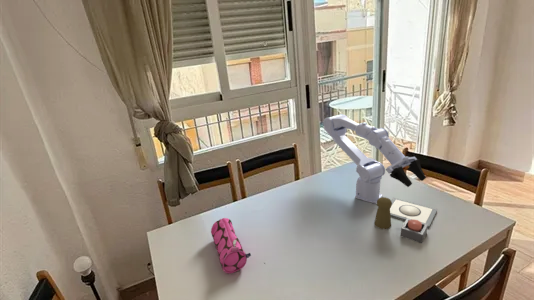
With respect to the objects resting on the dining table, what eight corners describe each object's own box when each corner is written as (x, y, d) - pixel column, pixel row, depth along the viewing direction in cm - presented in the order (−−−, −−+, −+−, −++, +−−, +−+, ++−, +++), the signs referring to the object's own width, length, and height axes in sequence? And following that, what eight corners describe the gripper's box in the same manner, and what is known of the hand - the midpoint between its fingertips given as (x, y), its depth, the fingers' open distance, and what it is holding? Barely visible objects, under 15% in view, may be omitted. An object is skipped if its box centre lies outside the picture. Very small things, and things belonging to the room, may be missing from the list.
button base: (400, 236, 110) (401, 228, 108) (406, 226, 115) (407, 218, 113) (421, 243, 106) (422, 234, 104) (426, 232, 111) (427, 224, 109)
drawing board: (382, 213, 123) (382, 211, 123) (393, 199, 132) (393, 197, 132) (428, 228, 113) (429, 225, 112) (437, 210, 122) (437, 208, 121)
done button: (405, 230, 109) (406, 224, 108) (409, 223, 112) (410, 218, 111) (419, 234, 106) (420, 228, 106) (422, 227, 110) (423, 222, 109)
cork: (388, 219, 119) (390, 194, 115) (393, 229, 114) (395, 203, 110) (372, 219, 120) (374, 195, 116) (376, 229, 114) (378, 203, 110)
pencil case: (253, 268, 101) (250, 244, 97) (224, 279, 98) (220, 254, 94) (234, 232, 119) (231, 210, 116) (209, 240, 116) (205, 218, 113)
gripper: (384, 152, 112) (409, 182, 105) (411, 142, 118) (436, 170, 111) (375, 163, 117) (398, 192, 110) (401, 154, 123) (425, 181, 117)
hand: (417, 182), depth 111 cm, fingers open, 7 cm apart
